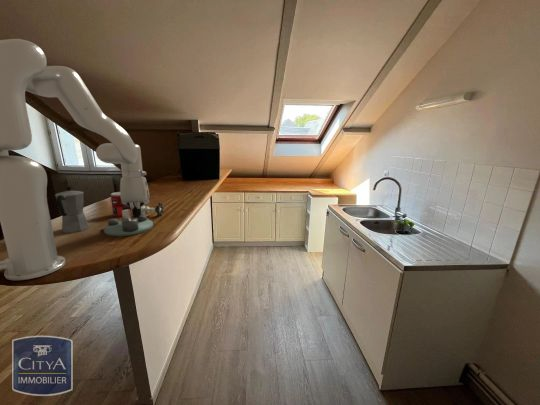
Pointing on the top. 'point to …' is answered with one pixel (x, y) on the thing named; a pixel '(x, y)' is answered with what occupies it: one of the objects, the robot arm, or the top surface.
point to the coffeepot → (72, 210)
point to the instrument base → (116, 230)
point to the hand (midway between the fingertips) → (137, 217)
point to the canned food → (118, 205)
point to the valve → (152, 209)
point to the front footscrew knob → (129, 222)
